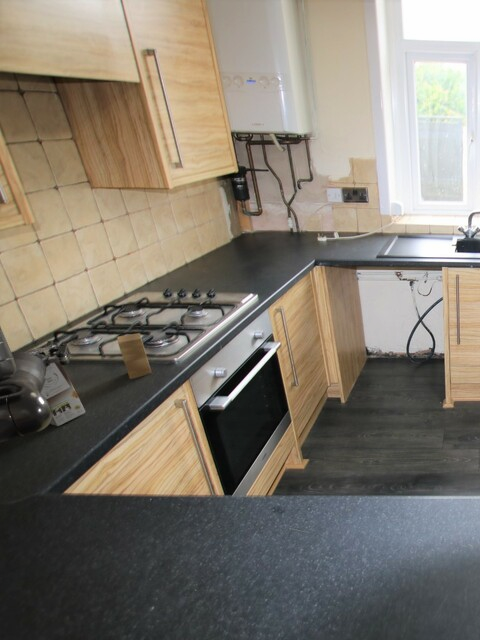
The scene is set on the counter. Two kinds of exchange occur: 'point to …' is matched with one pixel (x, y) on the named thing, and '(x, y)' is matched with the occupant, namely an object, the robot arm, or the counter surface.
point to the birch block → (134, 355)
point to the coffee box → (60, 394)
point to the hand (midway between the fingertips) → (23, 349)
